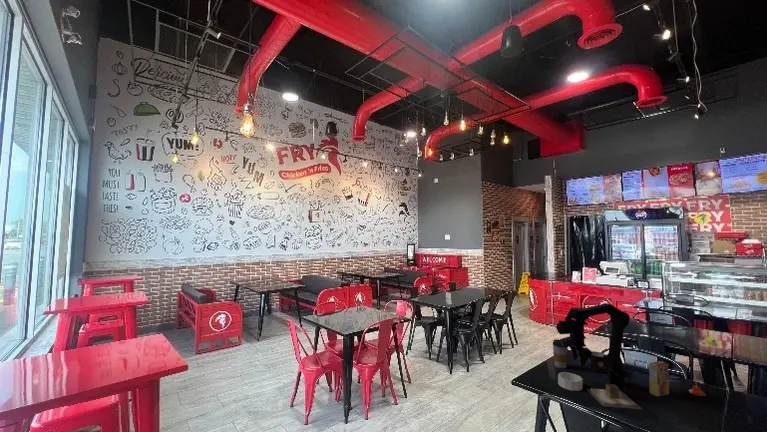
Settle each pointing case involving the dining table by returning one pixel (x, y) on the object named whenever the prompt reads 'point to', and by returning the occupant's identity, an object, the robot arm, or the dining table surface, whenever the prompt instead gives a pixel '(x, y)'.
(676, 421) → the dining table surface
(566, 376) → the bowl
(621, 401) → the cover tile
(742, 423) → the dining table surface
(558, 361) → the coffee cup
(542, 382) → the dining table surface
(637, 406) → the mat
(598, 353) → the coffee mug
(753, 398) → the dining table surface
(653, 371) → the candy box
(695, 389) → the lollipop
